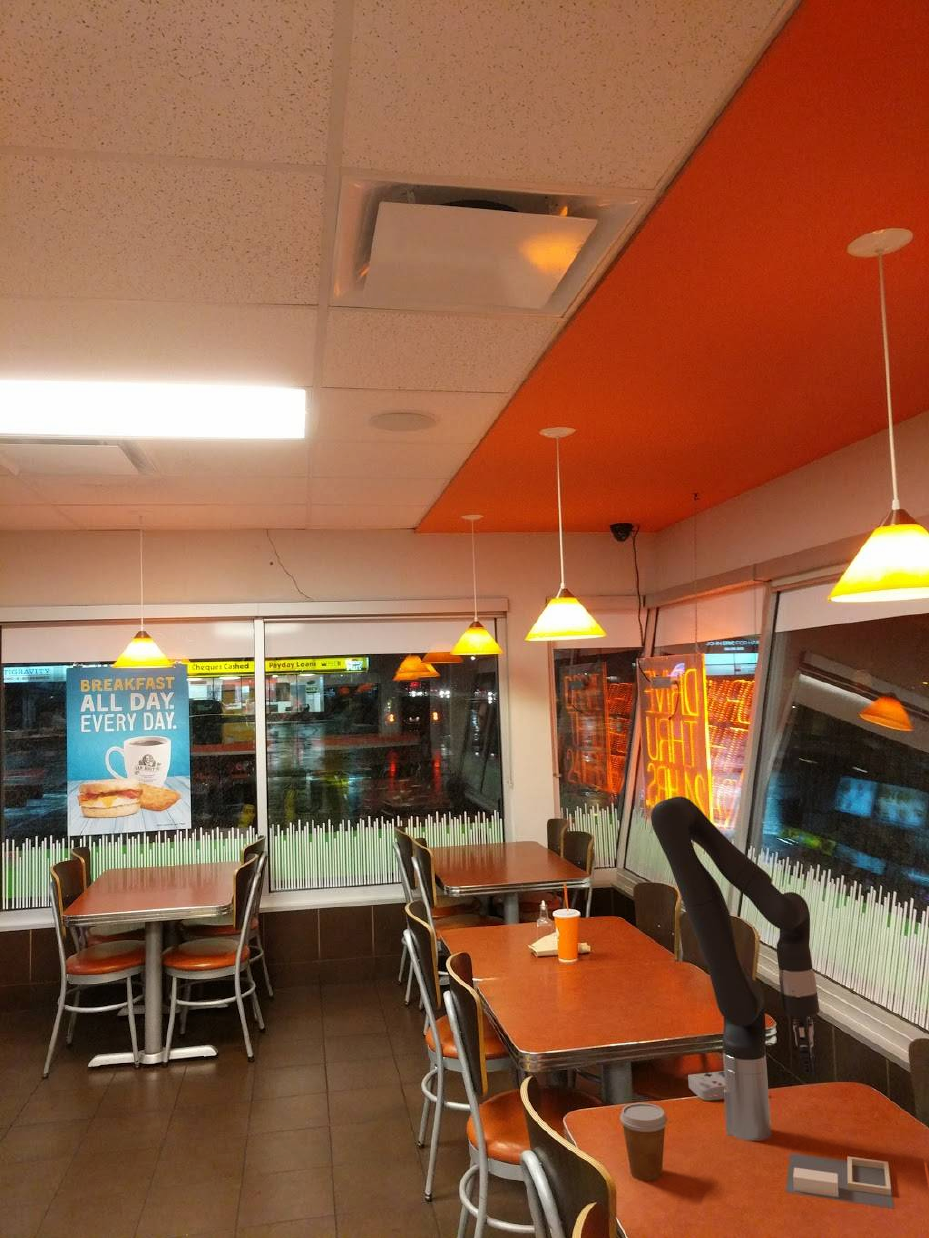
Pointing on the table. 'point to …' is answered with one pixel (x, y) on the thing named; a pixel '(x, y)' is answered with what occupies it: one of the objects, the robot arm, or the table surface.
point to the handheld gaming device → (708, 1085)
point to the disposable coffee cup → (644, 1139)
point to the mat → (849, 1178)
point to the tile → (816, 1182)
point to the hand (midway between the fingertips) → (808, 1068)
